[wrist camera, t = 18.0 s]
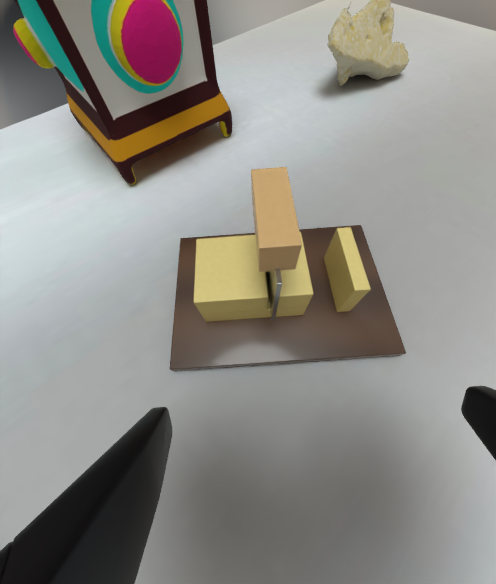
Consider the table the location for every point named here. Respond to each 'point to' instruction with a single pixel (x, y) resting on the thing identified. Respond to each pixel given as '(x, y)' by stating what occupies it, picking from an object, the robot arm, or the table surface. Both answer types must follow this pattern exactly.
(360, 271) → the butter slice
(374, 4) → the cream rough rock
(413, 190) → the table surface
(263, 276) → the butter block
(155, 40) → the decorative lantern
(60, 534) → the robot arm
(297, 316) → the board
